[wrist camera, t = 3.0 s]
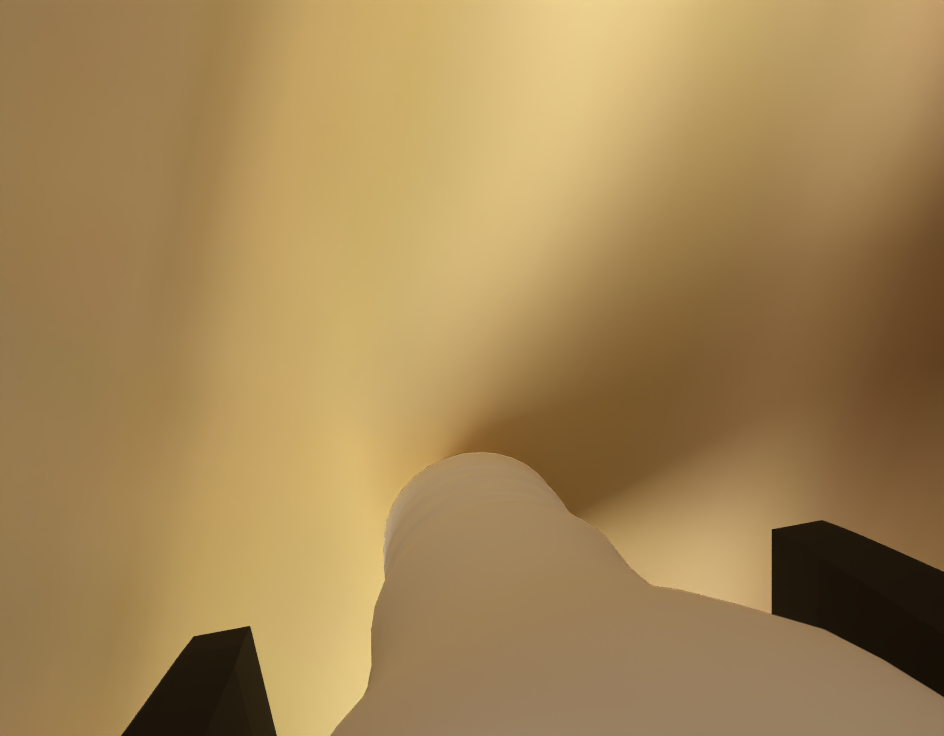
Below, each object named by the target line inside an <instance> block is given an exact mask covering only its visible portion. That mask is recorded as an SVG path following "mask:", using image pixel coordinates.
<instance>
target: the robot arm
mask: <svg viewBox="0 0 944 736" xmlns="http://www.w3.org/2000/svg"><path fill="white" fill-rule="evenodd" d="M772 614H773V615H776V616H779V617H783V618H786V619H790V620H793V621H797V622H800V623H804V624H807V625H811V626H814V627H817V628H821V629H824V630H826V631H828V632H830V633H832V634H834V635H836V636H838V637H840V638H842V639H844V640H846V641H848V642H850V643H852V644H854V645H856V646H858V647H860V648H861V649H863V650H865V651H867V652H869V653H871V654H873V655H875V656H877V657H879V658H881V659H883V660H885V661H886V662H888V663H889V664H891V665H893V666H894V667H896V668H897V669H899V670H901V671H902V672H904V673H906V674H907V675H909V676H910V677H912V678H914V679H915V680H917V681H919V682H920V683H922V684H923V685H925V686H927V687H928V688H930V689H931V690H933V691H935V692H936V693H938V694H940V695H941V696H943V697H944V572H943V571H941V570H938V569H936V568H934V567H932V566H929V565H927V564H925V563H923V562H920V561H918V560H916V559H914V558H911V557H909V556H907V555H905V554H903V553H900V552H898V551H896V550H894V549H891V548H889V547H887V546H885V545H882V544H880V543H878V542H875V541H873V540H871V539H869V538H866V537H864V536H862V535H859V534H857V533H854V532H852V531H850V530H847V529H845V528H842V527H839V526H837V525H834V524H831V523H828V522H826V521H823V520H821V521H815V522H810V523H804V524H799V525H794V526H788V527H783V528H777V529H772ZM121 736H277V735H276V731H275V727H274V723H273V719H272V714H271V710H270V706H269V702H268V698H267V694H266V690H265V685H264V681H263V677H262V673H261V669H260V665H259V661H258V657H257V652H256V648H255V644H254V640H253V636H252V632H251V628H250V626H248V627H242V628H237V629H231V630H226V631H221V632H215V633H210V634H204V635H199V636H194V637H193V638H192V639H191V641H190V642H189V643H188V644H187V646H186V647H185V648H184V650H183V651H182V652H181V654H180V655H179V656H178V658H177V659H176V660H175V662H174V663H173V664H172V666H171V667H170V669H169V670H168V671H167V673H166V674H165V676H164V677H163V678H162V680H161V681H160V683H159V684H158V685H157V687H156V688H155V690H154V691H153V692H152V694H151V695H150V697H149V698H148V699H147V701H146V702H145V704H144V705H143V706H142V708H141V709H140V710H139V712H138V713H137V715H136V716H135V717H134V719H133V720H132V722H131V723H130V724H129V726H128V727H127V728H126V730H125V731H124V732H123V734H122V735H121Z"/></svg>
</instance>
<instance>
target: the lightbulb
mask: <svg viewBox="0 0 944 736" xmlns="http://www.w3.org/2000/svg"><path fill="white" fill-rule="evenodd" d="M384 538H385V540H384V547H383V552H384V572H385V582H384V584H383V587H382V590H381V592H380V595H379V597H378V600H377V602H376V605H375V609H374V615H373V622H372V628H371V652H372V666H371V671H370V677H369V682H368V687H367V689H366V692H365V694H364V696H363V697H362V699H361V700H360V701H359V702H358V703H357V704H356V705H355V706H354V708H353V709H352V710H351V711H350V712H349V713H348V714H347V715H346V717H345V718H344V719H343V720H342V721H341V722H340V723H339V724H338V726H337V727H336V728H335V730H334V731H333V733H332V734H331V736H944V697H943V696H941V695H940V694H938V693H936V692H935V691H933V690H931V689H930V688H928V687H927V686H925V685H923V684H922V683H920V682H919V681H917V680H915V679H914V678H912V677H910V676H909V675H907V674H906V673H904V672H902V671H901V670H899V669H897V668H896V667H894V666H893V665H891V664H889V663H888V662H886V661H885V660H883V659H881V658H879V657H877V656H875V655H873V654H871V653H869V652H867V651H865V650H863V649H861V648H860V647H858V646H856V645H854V644H852V643H850V642H848V641H846V640H844V639H842V638H840V637H838V636H836V635H834V634H832V633H830V632H828V631H826V630H824V629H821V628H817V627H814V626H811V625H807V624H804V623H800V622H797V621H793V620H790V619H786V618H783V617H779V616H776V615H773V614H769V613H766V612H762V611H759V610H755V609H752V608H748V607H745V606H742V605H738V604H735V603H731V602H727V601H723V600H719V599H715V598H711V597H707V596H703V595H699V594H695V593H691V592H687V591H683V590H679V589H672V588H665V587H658V586H653V585H651V584H649V583H648V582H647V581H646V580H644V579H643V578H642V577H641V576H640V575H638V574H637V573H636V572H635V571H634V570H632V569H631V568H630V567H629V565H628V564H627V563H626V561H625V560H624V559H623V558H622V556H621V555H620V554H619V553H618V551H617V550H616V549H615V548H614V546H613V545H612V544H611V542H610V541H609V540H608V539H607V537H605V536H604V535H603V534H602V533H601V532H599V531H598V530H597V529H596V528H594V527H593V526H592V525H591V524H589V523H588V522H586V521H584V520H582V519H580V518H579V517H577V516H575V515H573V514H571V513H570V512H569V511H568V509H567V508H566V507H565V506H564V503H563V502H562V501H561V500H560V498H559V497H558V496H557V494H556V493H555V492H554V491H553V489H551V488H550V487H549V486H548V485H547V483H546V482H545V481H544V480H543V478H542V477H541V476H540V475H539V474H538V473H537V472H536V471H534V470H533V469H532V468H531V467H529V466H528V465H526V464H524V463H523V462H521V461H519V460H517V459H515V458H512V457H509V456H505V455H502V454H498V453H488V452H473V453H462V454H459V455H455V456H452V457H448V458H445V459H443V460H441V461H439V462H436V463H434V464H432V465H430V466H428V467H427V468H426V469H424V470H423V471H422V472H420V473H419V474H417V475H416V476H415V477H414V478H413V479H412V480H411V481H410V482H409V483H408V484H407V485H406V486H405V487H404V488H403V489H402V490H401V492H400V494H399V495H398V497H397V498H396V500H395V502H394V503H393V505H392V507H391V510H390V513H389V515H388V518H387V522H386V528H385V535H384Z"/></svg>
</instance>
